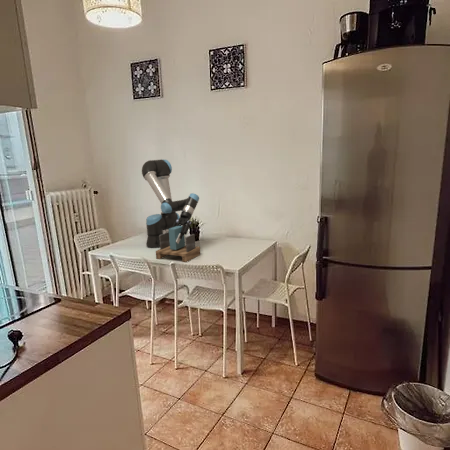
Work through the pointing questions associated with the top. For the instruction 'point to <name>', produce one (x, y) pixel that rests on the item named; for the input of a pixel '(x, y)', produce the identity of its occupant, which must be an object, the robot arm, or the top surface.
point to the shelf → (186, 252)
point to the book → (173, 237)
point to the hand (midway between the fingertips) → (173, 242)
